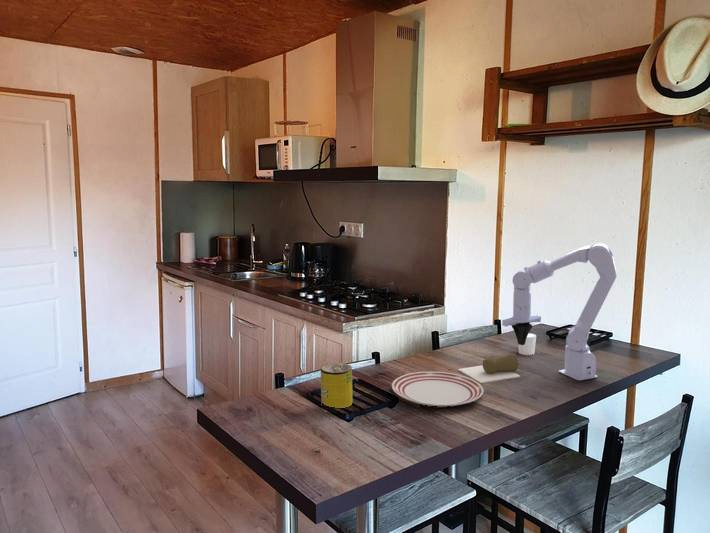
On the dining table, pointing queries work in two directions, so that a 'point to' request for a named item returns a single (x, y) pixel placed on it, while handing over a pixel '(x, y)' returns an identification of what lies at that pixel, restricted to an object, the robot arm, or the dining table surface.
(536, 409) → the dining table surface
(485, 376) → the mat
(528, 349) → the white short cylinder
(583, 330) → the robot arm
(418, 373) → the dinner plate
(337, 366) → the yellow tin can
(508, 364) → the olive waisted cylinder
